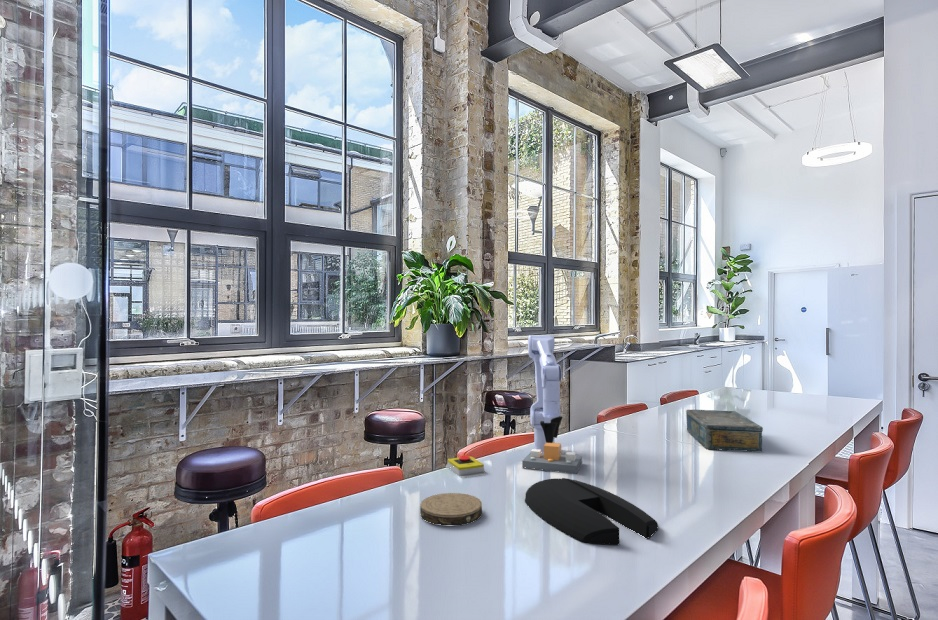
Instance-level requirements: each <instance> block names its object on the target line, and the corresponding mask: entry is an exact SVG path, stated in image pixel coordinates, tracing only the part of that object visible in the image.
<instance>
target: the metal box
mask: <svg viewBox="0 0 938 620" xmlns="http://www.w3.org/2000/svg"><path fill="white" fill-rule="evenodd" d="M685 414H686V415H685V417H686V431H687V433H688V435H691V436H692V438H693V439H694V440H696V442H698V443H699V444H700V445H701V446H702V447H703V448H704V449H706V450H707V449H712V450H711V451H720V450H719V449H722V450H721V451H727V450H747V451H746V452H752V451H761V452H762V450H763V449H762V447H763V446H762V445H763V430H764V427H763V426H761V425H759V424H758V423H756V422H755V421H753V420H751V419H749V418H748V417H746V416H744V415H742V414H741V413H739V412H738V411H736V410H716V409H715V410H714V409H712V410H711V409H686V410H685ZM717 449H718V450H717Z"/></svg>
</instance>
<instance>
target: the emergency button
mask: <svg viewBox="0 0 938 620" xmlns="http://www.w3.org/2000/svg"><path fill="white" fill-rule="evenodd" d="M446 462H447V464H446V465H445V468H447V469H448V468H449V469H448V470H450V469H451V470H450V471H451V472H452V471H453V474H455V475H456V474H457V476H458V477H459V478H461V479H467V477H468V478H473V476H475V477H481V476H480V475H482V476H486V474H487V475H488V473H487V472H485V467H484V463H482V461H479V460H478V459H477V458H475V457H473V456H471V455H469V456H467V455H466V456H465V455H464V456H463V455H462V456H459V457H454V458H453V457H452V458H448V459H447V461H446ZM453 466H454V467H453ZM450 467H451V468H450Z"/></svg>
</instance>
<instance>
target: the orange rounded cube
mask: <svg viewBox="0 0 938 620" xmlns="http://www.w3.org/2000/svg"><path fill="white" fill-rule="evenodd" d="M561 455H562V442H560V443H559V442H555V443H546V444H545V445H544V459H553V460H559V459H560V457H561Z"/></svg>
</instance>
